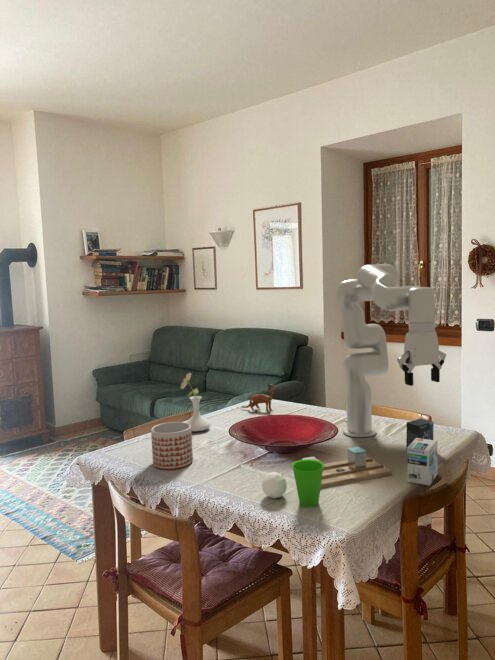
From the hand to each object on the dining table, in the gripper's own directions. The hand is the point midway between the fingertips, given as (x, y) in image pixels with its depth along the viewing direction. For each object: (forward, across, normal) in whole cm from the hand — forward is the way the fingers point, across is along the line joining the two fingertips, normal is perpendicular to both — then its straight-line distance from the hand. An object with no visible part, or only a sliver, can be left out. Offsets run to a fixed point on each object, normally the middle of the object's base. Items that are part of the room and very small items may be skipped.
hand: (422, 383), depth 161 cm
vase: (+28, +70, -44) cm, 87 cm away
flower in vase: (+28, +54, -77) cm, 98 cm away
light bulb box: (+28, +3, +4) cm, 29 cm away
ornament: (+28, +49, -3) cm, 57 cm away
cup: (+28, +42, +5) cm, 51 cm away
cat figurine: (+28, +19, -94) cm, 100 cm away
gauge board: (+28, +23, -10) cm, 38 cm away
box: (+28, -11, -16) cm, 34 cm away
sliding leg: (+27, +18, -10) cm, 34 cm away
